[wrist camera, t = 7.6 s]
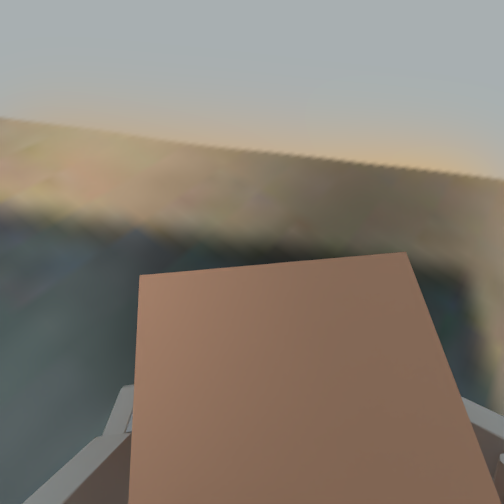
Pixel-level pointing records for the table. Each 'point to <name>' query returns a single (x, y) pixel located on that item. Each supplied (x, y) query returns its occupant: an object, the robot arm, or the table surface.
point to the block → (298, 390)
